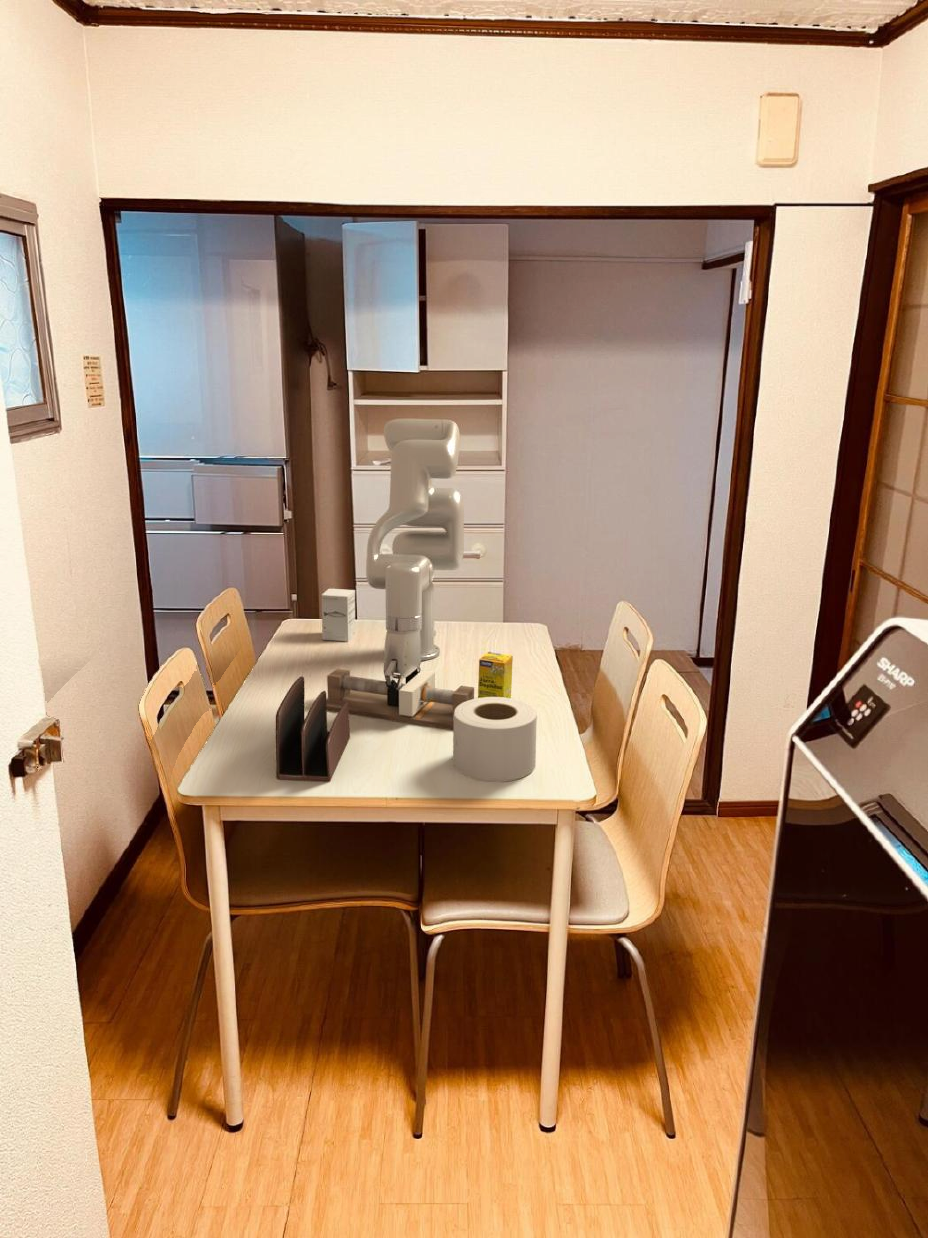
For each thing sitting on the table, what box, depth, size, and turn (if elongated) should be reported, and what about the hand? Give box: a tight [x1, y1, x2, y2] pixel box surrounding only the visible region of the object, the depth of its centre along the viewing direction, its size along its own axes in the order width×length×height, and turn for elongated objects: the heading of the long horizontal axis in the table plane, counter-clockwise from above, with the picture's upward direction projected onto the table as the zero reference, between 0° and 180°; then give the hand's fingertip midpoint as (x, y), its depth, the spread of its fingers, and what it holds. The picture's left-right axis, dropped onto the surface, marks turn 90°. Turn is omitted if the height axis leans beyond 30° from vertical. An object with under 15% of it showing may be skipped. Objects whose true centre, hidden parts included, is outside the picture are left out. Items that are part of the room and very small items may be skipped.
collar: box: [399, 669, 436, 716], centre depth 196 cm, size 13×3×5 cm, turn 161°
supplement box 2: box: [477, 651, 514, 699], centre depth 201 cm, size 6×6×11 cm
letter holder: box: [275, 676, 351, 783], centre depth 173 cm, size 10×20×14 cm, turn 176°
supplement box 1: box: [321, 588, 356, 643], centre depth 245 cm, size 7×7×13 cm
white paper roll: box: [452, 697, 538, 783], centre depth 172 cm, size 16×15×11 cm
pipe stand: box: [326, 668, 475, 731], centre depth 198 cm, size 12×32×6 cm, turn 71°
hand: (403, 698), depth 197 cm, fingers open, 9 cm apart
